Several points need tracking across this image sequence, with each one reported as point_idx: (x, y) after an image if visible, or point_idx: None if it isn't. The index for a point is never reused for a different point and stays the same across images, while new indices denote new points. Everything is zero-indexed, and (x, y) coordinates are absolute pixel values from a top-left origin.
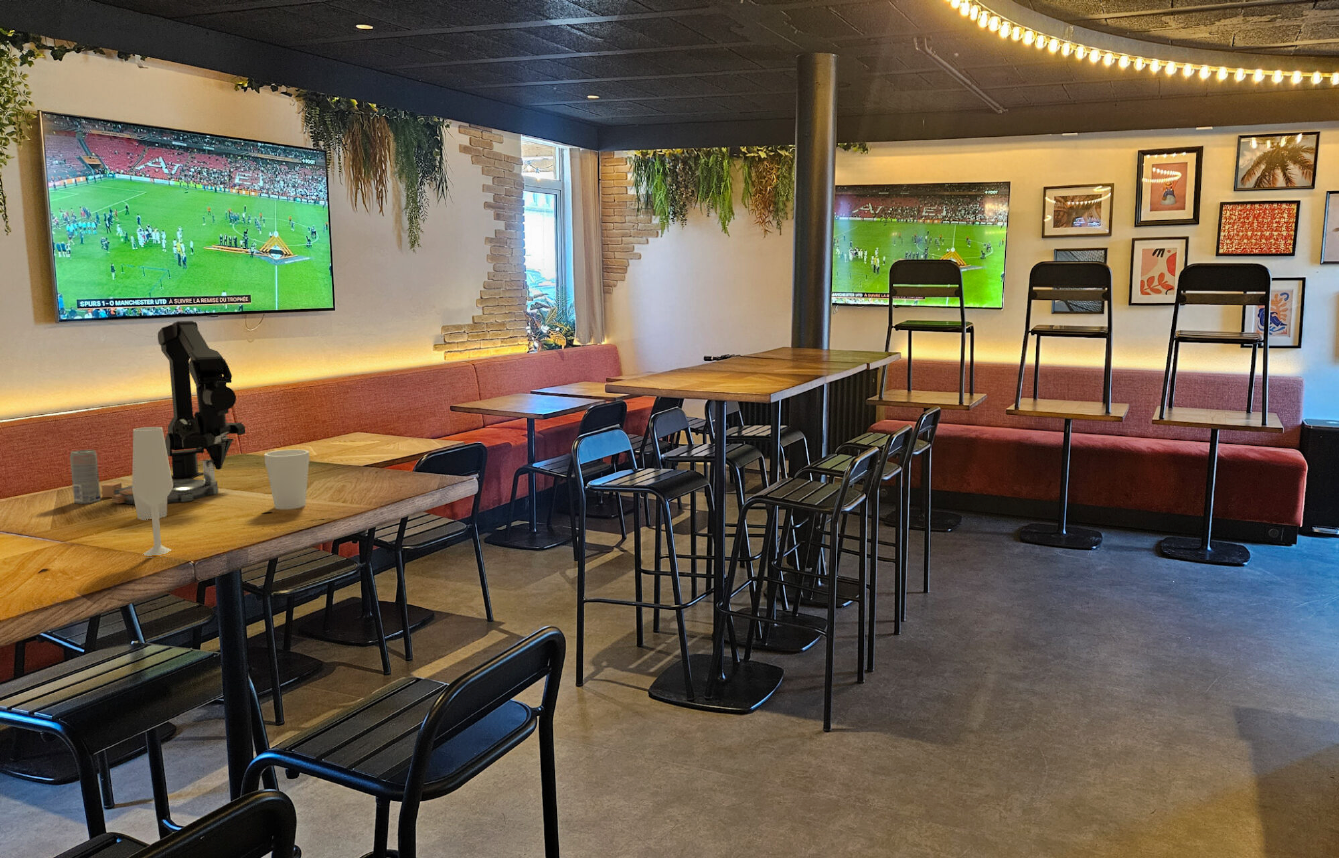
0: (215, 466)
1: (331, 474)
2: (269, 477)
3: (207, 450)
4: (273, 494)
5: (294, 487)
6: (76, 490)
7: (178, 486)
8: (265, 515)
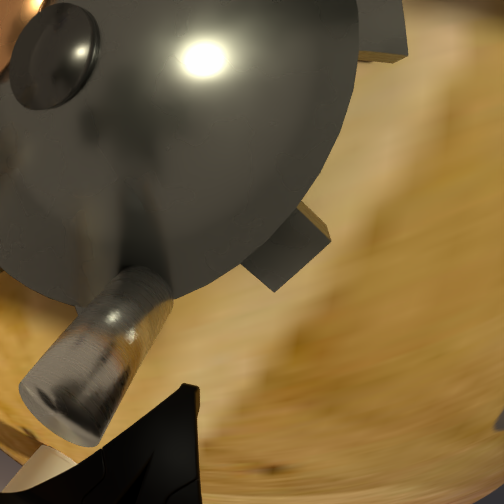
0: (169, 398)
1: (470, 474)
2: (4, 488)
3: (34, 492)
4: (22, 467)
5: None
6: None
7: (74, 115)
8: (17, 429)
